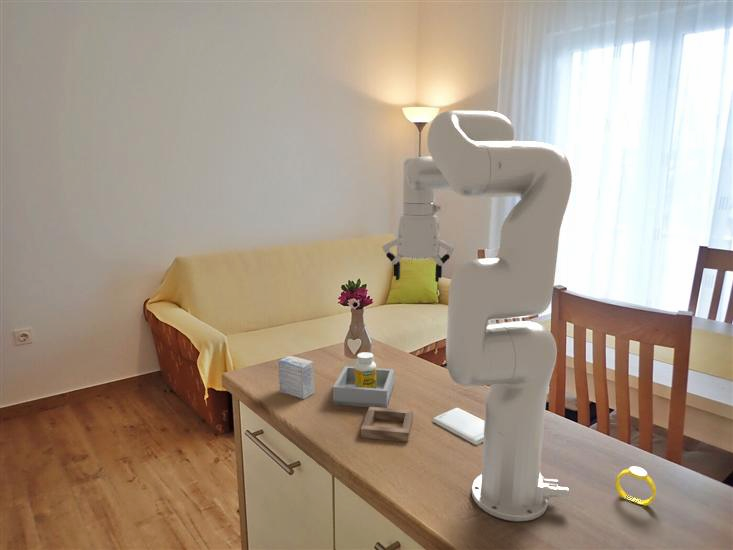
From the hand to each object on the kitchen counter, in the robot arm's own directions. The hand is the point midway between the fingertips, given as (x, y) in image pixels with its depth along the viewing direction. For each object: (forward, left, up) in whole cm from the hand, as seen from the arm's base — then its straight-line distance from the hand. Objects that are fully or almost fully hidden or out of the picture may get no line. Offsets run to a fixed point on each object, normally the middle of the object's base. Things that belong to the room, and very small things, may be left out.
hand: (417, 279), depth 126 cm
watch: (-41, +39, -29) cm, 63 cm away
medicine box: (+29, +9, -29) cm, 42 cm away
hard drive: (-13, +19, -29) cm, 37 cm away
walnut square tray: (+4, +22, -28) cm, 36 cm away
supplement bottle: (+12, +7, -28) cm, 31 cm away
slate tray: (+12, +7, -28) cm, 32 cm away
